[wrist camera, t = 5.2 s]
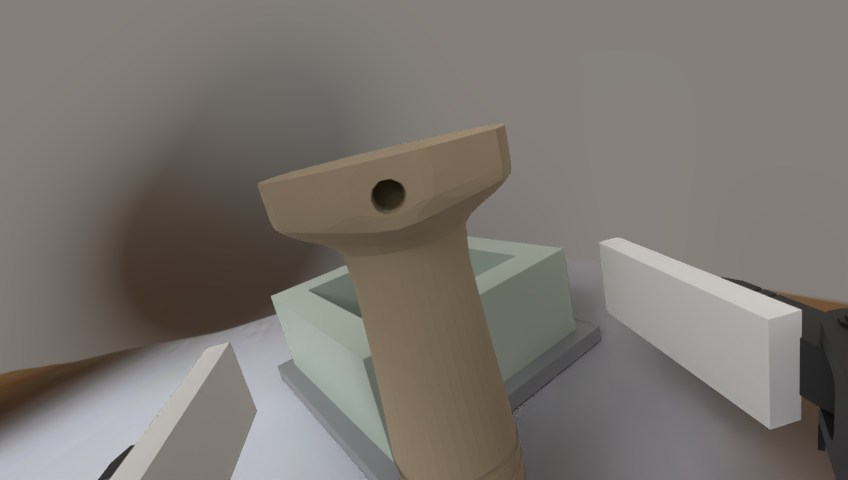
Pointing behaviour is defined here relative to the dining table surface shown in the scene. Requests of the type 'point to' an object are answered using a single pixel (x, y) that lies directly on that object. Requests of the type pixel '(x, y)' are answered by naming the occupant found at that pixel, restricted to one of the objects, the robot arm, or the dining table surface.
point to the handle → (417, 292)
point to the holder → (352, 362)
